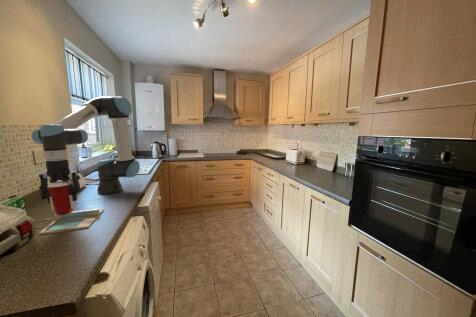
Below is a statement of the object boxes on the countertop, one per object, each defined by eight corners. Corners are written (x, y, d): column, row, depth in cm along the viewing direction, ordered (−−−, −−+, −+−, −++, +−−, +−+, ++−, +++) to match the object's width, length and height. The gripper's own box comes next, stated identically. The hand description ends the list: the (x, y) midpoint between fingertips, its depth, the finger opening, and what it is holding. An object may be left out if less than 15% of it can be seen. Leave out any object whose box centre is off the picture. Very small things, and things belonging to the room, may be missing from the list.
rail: (57, 218, 98) (56, 213, 98) (99, 214, 103) (98, 208, 103) (55, 220, 97) (54, 214, 96) (98, 215, 102) (97, 209, 101)
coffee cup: (80, 209, 95) (75, 179, 93) (61, 217, 87) (55, 184, 85) (67, 208, 98) (62, 178, 95) (47, 215, 90) (41, 183, 87)
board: (64, 214, 104) (64, 213, 104) (103, 210, 109) (103, 209, 109) (39, 234, 85) (38, 232, 85) (88, 228, 90) (87, 226, 90)
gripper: (22, 162, 82) (32, 214, 86) (78, 159, 88) (85, 209, 91) (35, 159, 89) (43, 207, 93) (86, 157, 95) (92, 203, 98)
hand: (64, 208), depth 92 cm, fingers closed on coffee cup, 7 cm apart
